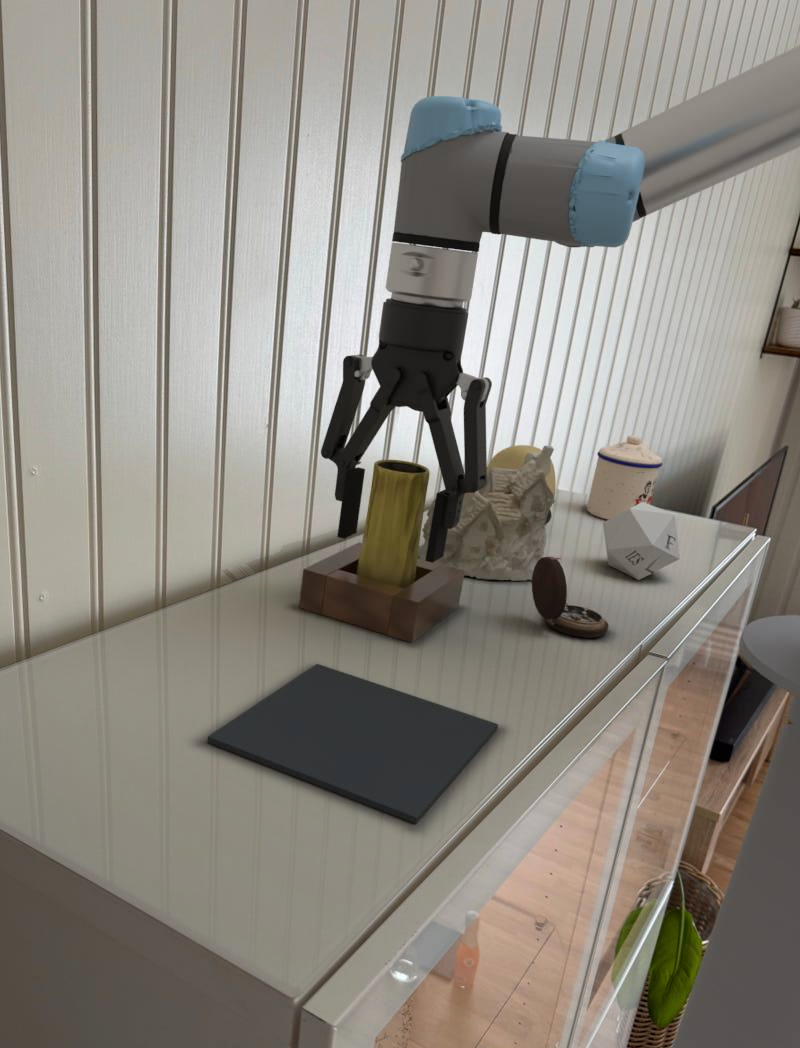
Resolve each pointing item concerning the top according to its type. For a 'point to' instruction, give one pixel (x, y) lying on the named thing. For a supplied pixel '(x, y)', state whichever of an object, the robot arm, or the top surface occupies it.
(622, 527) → the die
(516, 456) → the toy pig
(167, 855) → the top surface
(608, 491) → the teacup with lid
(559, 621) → the compass
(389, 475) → the vase
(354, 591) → the holder
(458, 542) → the ceramic cottage
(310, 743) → the mat
